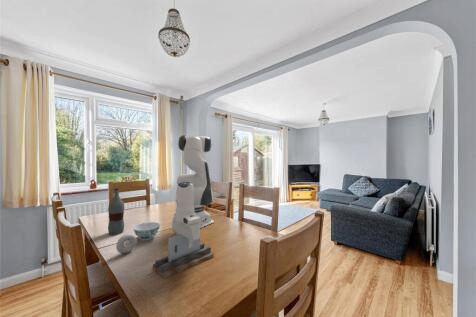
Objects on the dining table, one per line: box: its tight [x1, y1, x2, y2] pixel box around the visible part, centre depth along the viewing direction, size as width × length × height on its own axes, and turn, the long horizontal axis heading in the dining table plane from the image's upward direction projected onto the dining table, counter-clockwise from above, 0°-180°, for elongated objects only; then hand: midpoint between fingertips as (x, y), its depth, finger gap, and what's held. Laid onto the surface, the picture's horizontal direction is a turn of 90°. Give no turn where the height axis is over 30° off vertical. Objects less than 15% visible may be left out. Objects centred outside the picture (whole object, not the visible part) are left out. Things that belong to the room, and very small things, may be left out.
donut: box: [115, 233, 138, 255], centre depth 104 cm, size 10×4×10 cm, turn 142°
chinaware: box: [133, 221, 161, 241], centre depth 123 cm, size 15×15×8 cm
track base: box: [152, 242, 214, 279], centre depth 95 cm, size 26×12×4 cm, turn 136°
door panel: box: [167, 234, 201, 262], centre depth 95 cm, size 16×3×12 cm, turn 136°
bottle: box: [107, 187, 125, 236], centre depth 132 cm, size 9×9×30 cm
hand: (184, 244), depth 95 cm, fingers open, 7 cm apart
